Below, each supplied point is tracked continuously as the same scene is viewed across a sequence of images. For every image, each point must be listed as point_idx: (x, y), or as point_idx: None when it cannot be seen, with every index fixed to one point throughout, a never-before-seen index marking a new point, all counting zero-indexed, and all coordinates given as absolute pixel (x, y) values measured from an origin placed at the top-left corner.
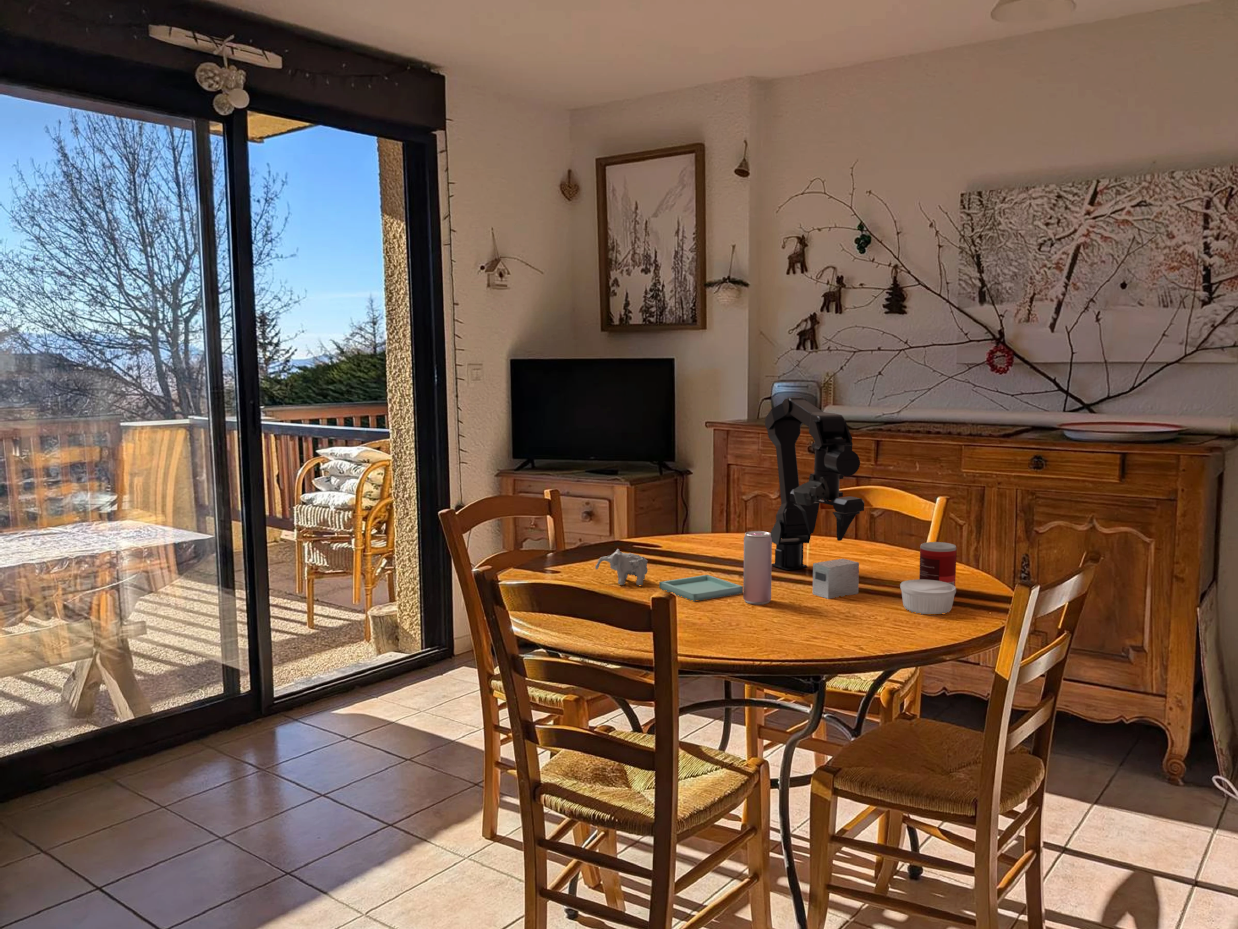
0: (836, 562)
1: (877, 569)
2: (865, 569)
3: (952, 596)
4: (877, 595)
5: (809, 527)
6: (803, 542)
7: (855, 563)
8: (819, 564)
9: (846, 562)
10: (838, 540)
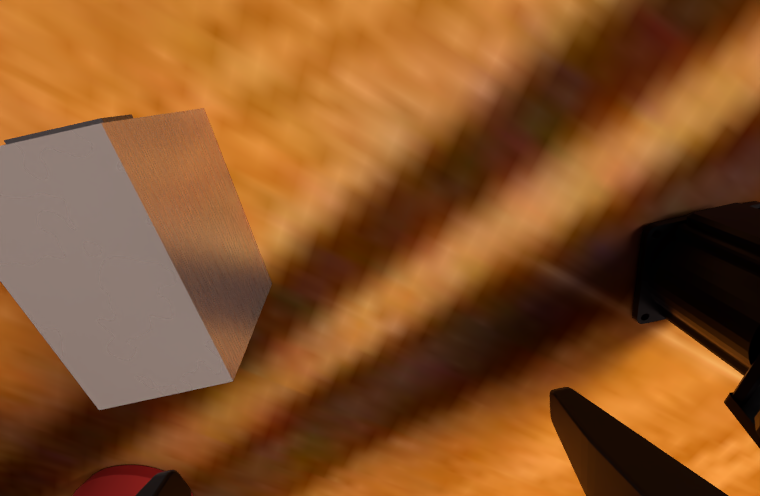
0: (114, 300)
1: (484, 483)
2: (502, 459)
3: None
4: None
5: (589, 442)
6: (745, 381)
7: (83, 387)
8: (42, 150)
9: (110, 354)
10: (157, 474)
